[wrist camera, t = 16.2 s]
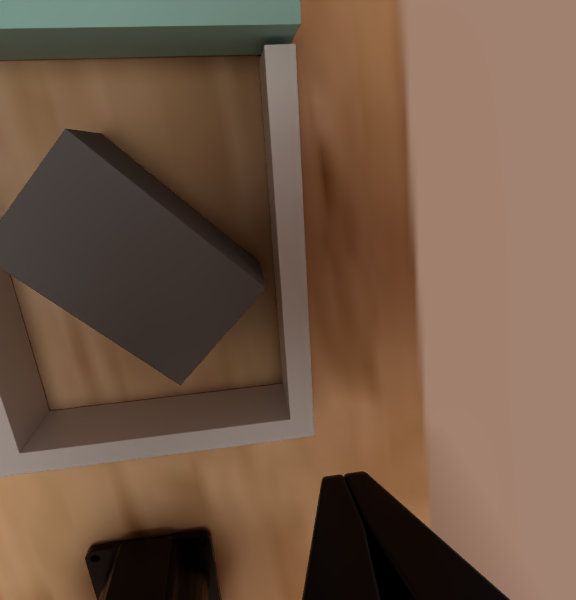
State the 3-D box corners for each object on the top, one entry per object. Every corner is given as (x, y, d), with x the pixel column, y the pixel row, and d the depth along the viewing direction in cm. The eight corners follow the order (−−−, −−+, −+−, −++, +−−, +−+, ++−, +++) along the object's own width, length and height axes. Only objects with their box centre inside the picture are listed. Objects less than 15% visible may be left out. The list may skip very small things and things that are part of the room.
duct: (303, 398, 21) (321, 459, 17) (-15, 437, 20) (-81, 513, 16) (282, 13, 16) (299, -37, 12) (-161, 29, 14) (-324, -22, 10)
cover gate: (284, 53, 16) (300, 24, 12) (-95, 62, 15) (-208, 31, 11) (283, 29, 16) (299, -9, 12) (-103, 35, 14) (-222, -6, 11)
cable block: (189, 341, 20) (180, 385, 16) (31, 231, 18) (-23, 252, 14) (258, 261, 19) (265, 288, 15) (102, 133, 17) (65, 128, 13)
